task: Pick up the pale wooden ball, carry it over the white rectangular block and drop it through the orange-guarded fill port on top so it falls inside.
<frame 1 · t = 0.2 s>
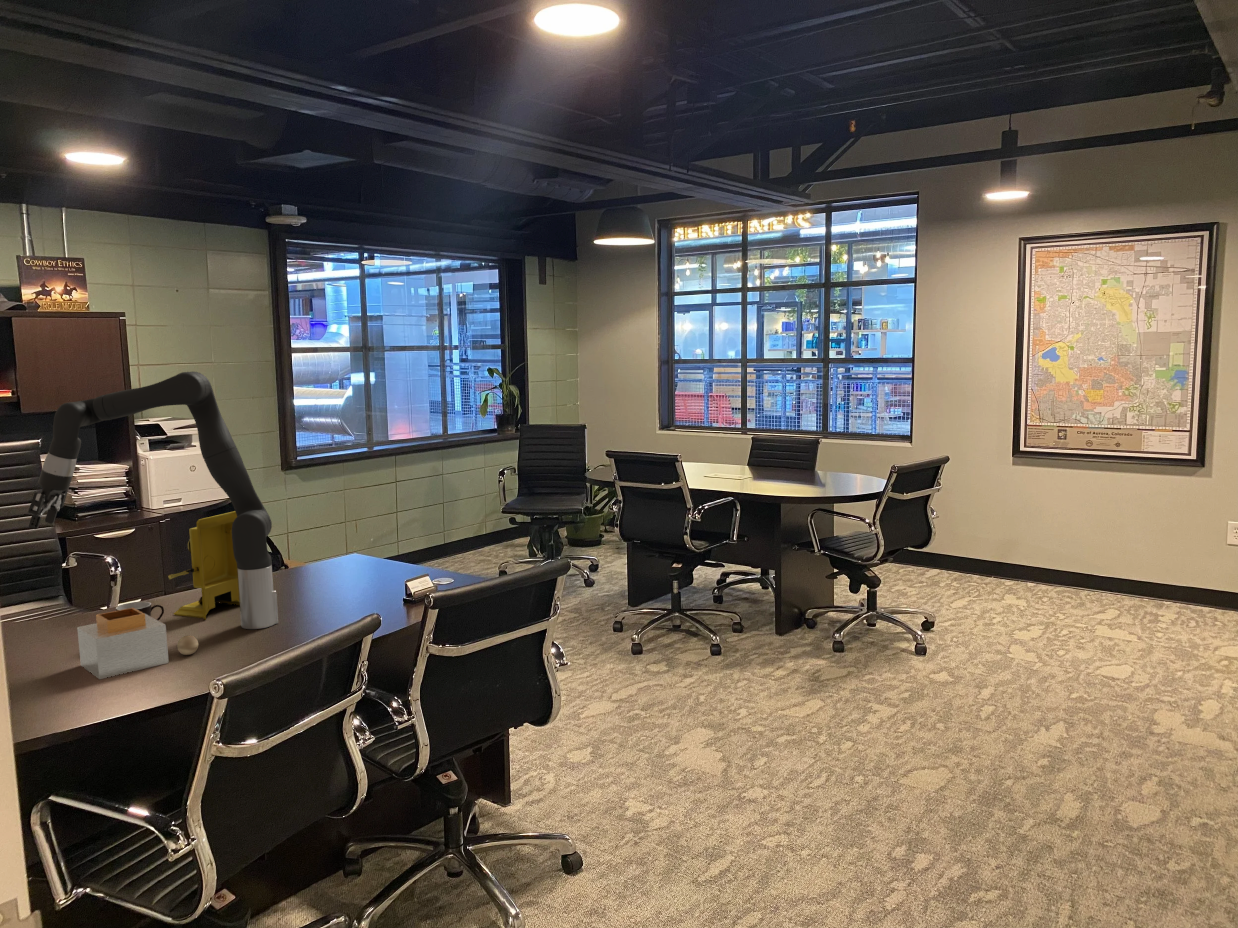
hand: (41, 525, 257), 31 cm above the table, tool tilted 20°, fingers open, 8 cm apart
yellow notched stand: (213, 609, 284), on the table
wooden ball: (188, 654, 241), on the table
coffee mug: (142, 641, 254), on the table
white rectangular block: (124, 664, 234), on the table
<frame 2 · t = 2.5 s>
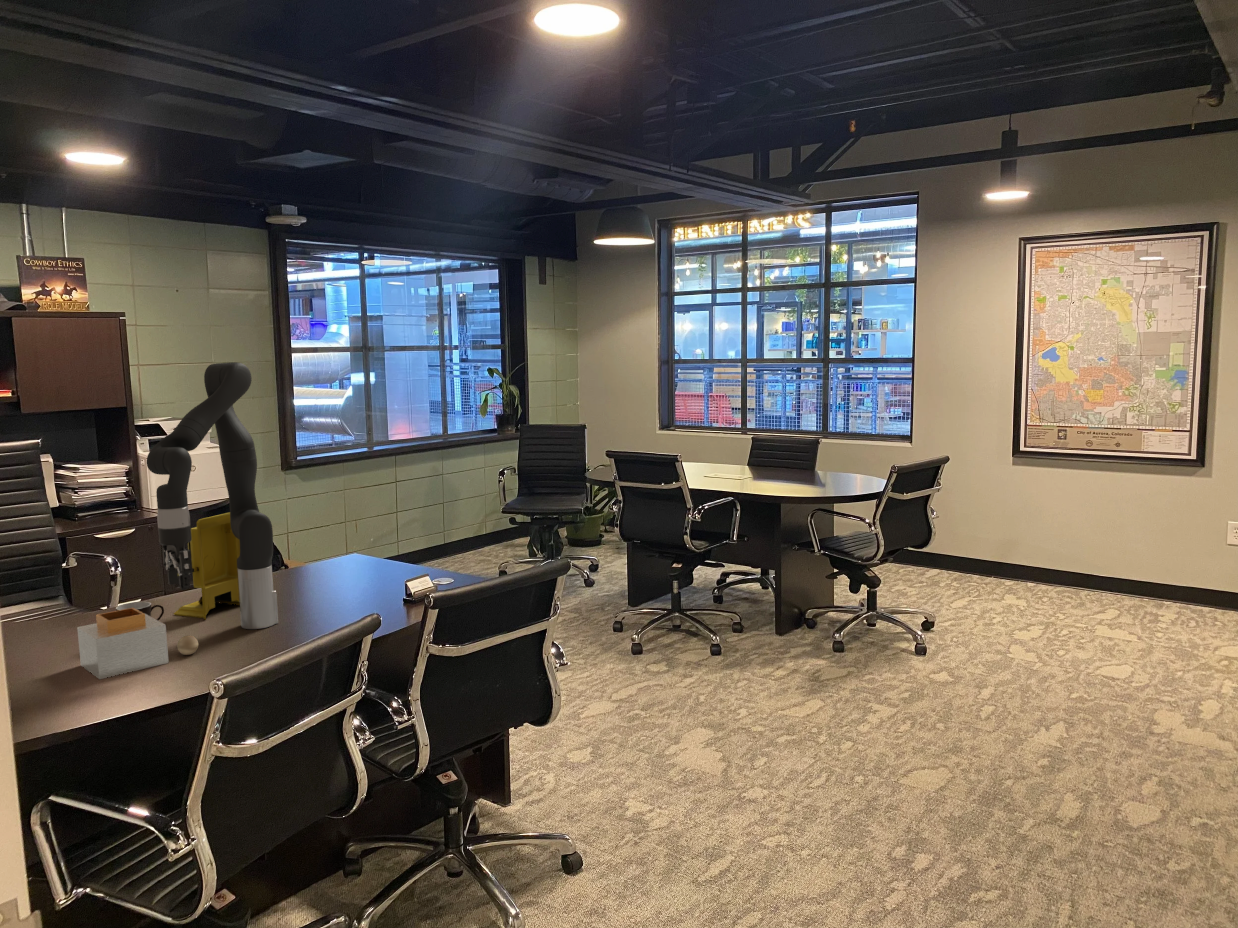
hand: (179, 586, 239), 18 cm above the table, tool pointing down, fingers open, 8 cm apart
nothing on the table moved.
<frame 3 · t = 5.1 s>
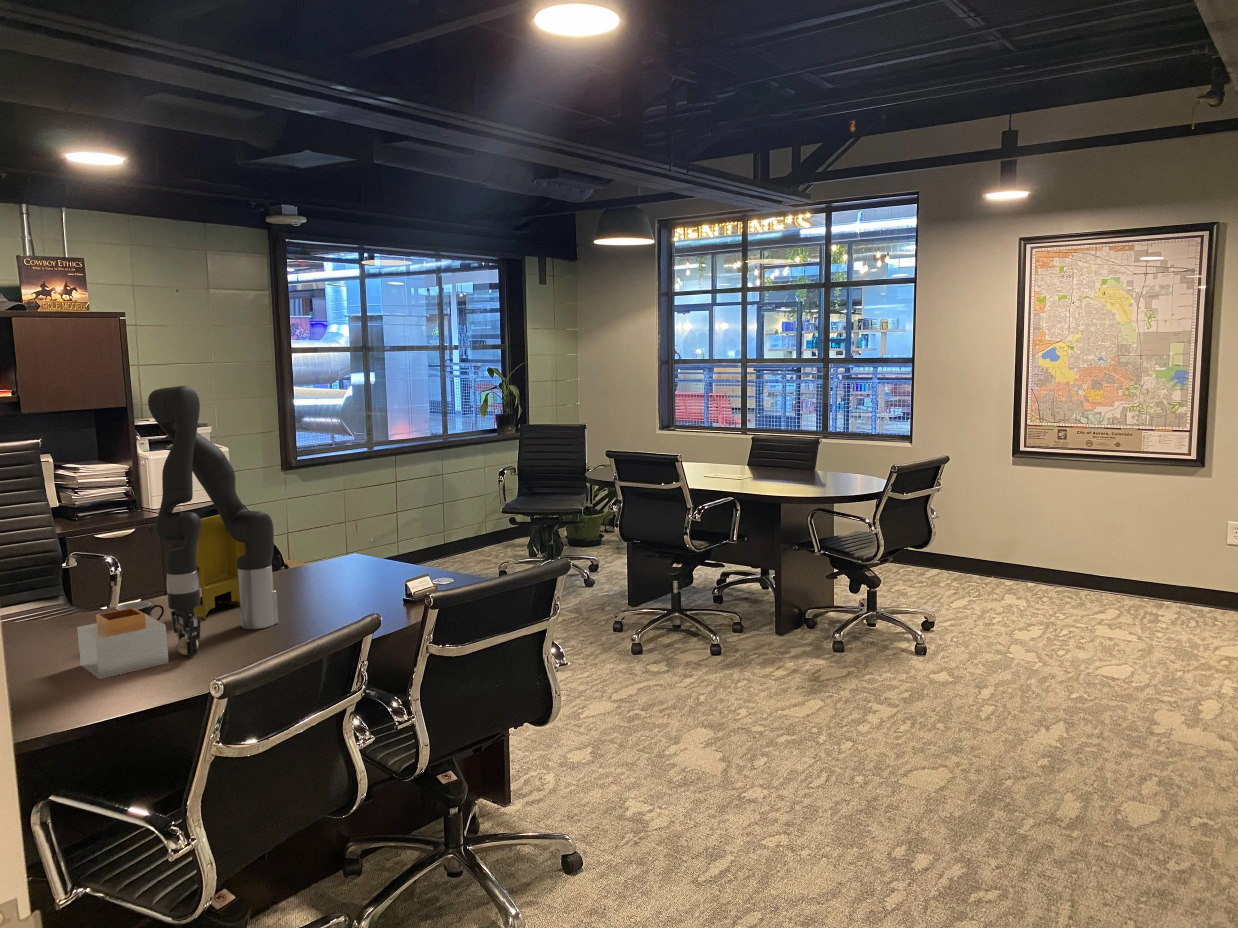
hand: (188, 652, 241), 1 cm above the table, tool pointing down, fingers closed on wooden ball, 5 cm apart
wooden ball: (188, 654, 241), on the table, touching gripper
everything else where it was.
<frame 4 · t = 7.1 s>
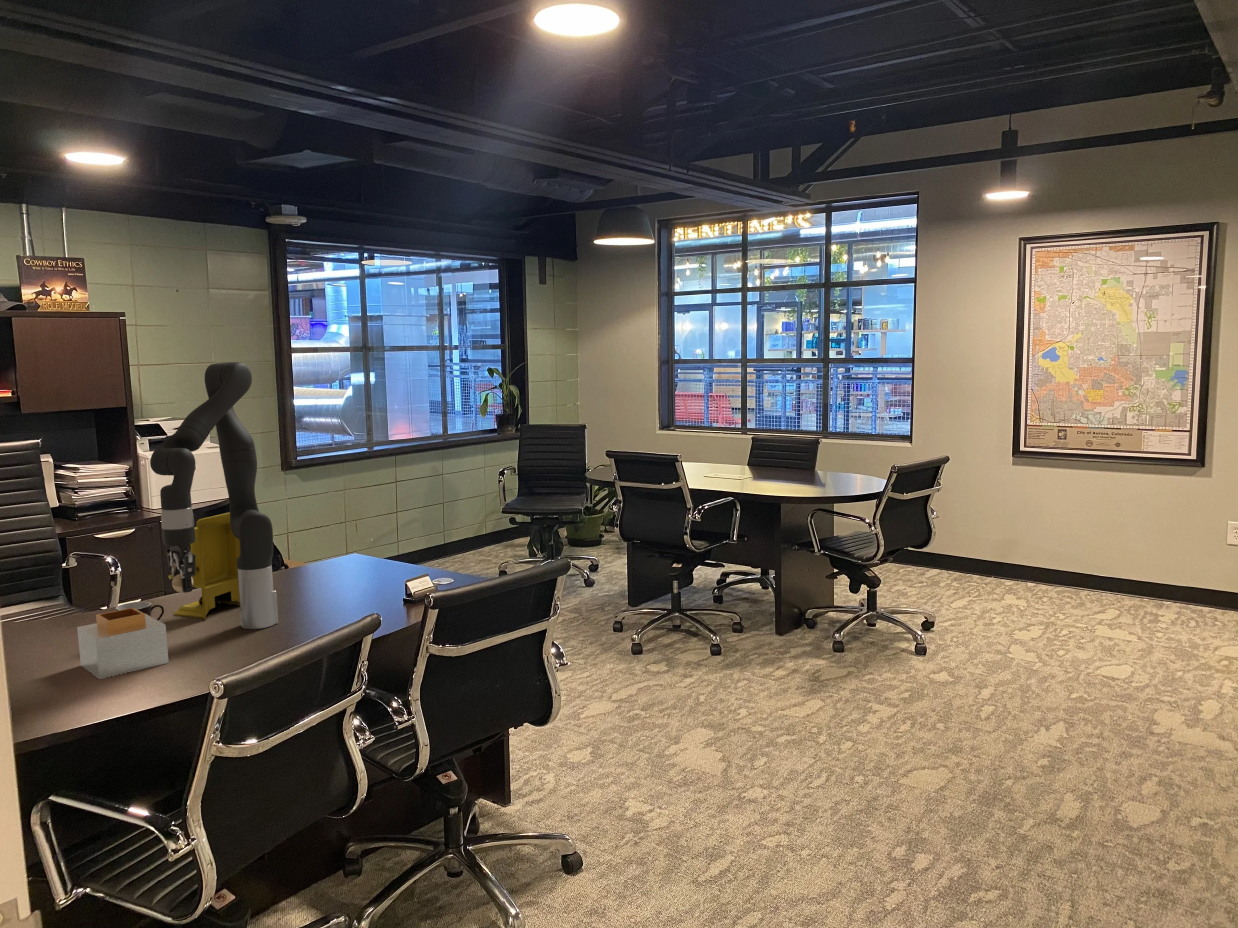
hand: (183, 589, 239), 17 cm above the table, tool pointing down, fingers closed on wooden ball, 5 cm apart
wooden ball: (183, 592, 239), point 17 cm above the table, touching gripper
everything else where it was.
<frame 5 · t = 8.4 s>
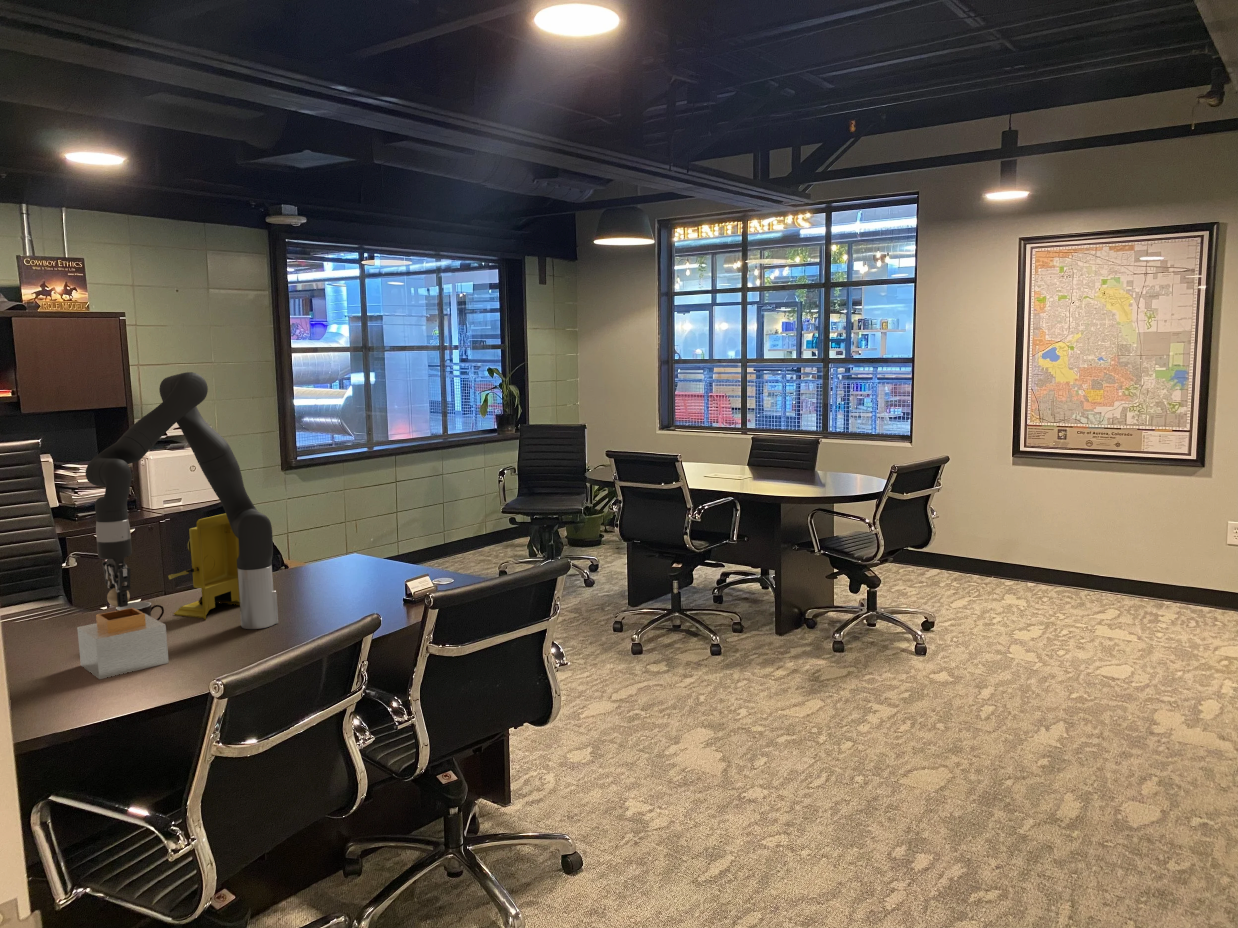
hand: (119, 604, 233), 16 cm above the table, tool pointing down, fingers closed on wooden ball, 5 cm apart
wooden ball: (119, 606, 233), point 15 cm above the table, touching gripper
everything else where it was.
when the fingers open (15 cm above the table, at t = 9.3 s): wooden ball drops 13 cm, resting on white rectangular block.
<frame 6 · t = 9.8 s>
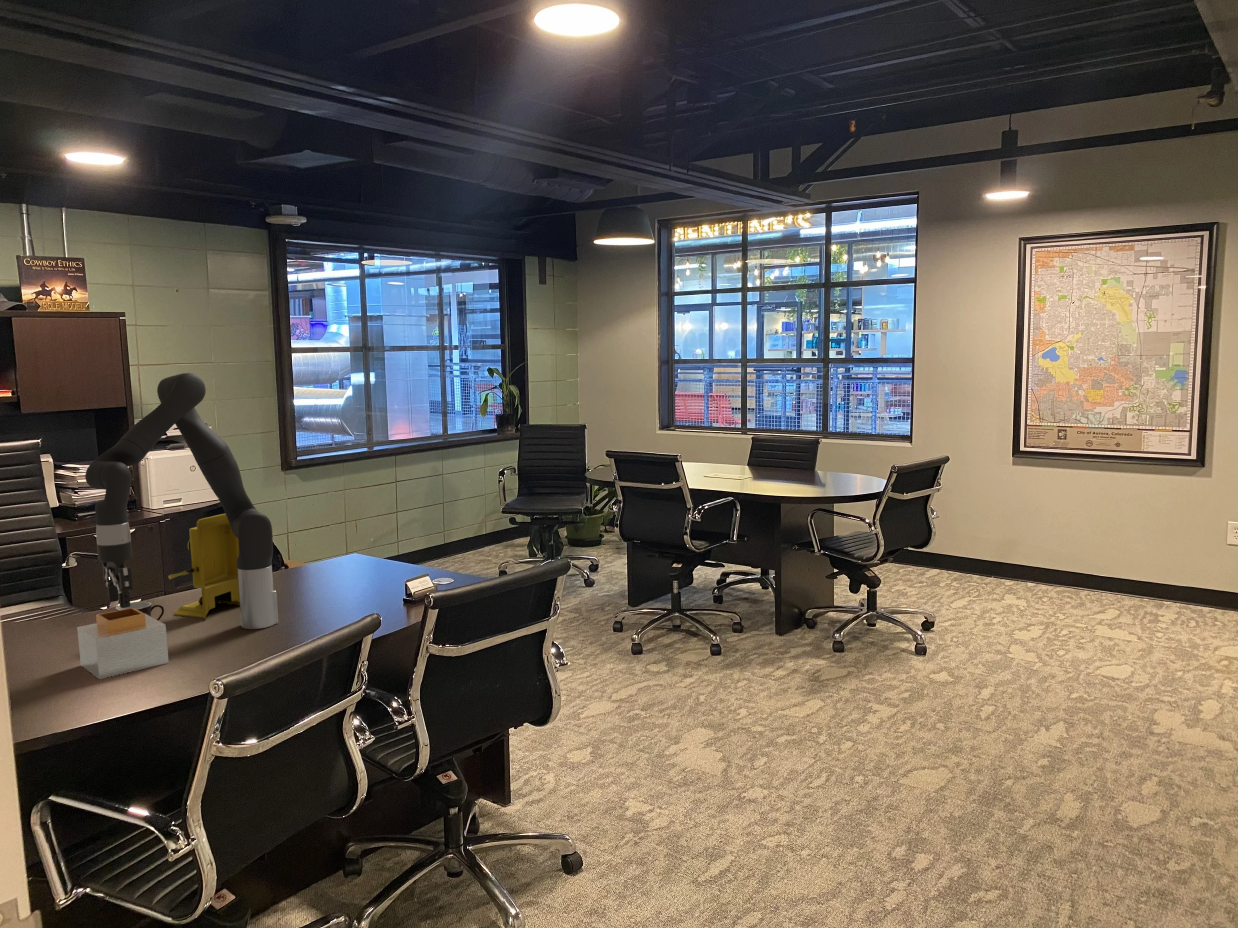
hand: (119, 604, 233), 16 cm above the table, tool pointing down, fingers open, 8 cm apart
wooden ball: (124, 660, 234), point 1 cm above the table, touching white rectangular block
everything else where it was.
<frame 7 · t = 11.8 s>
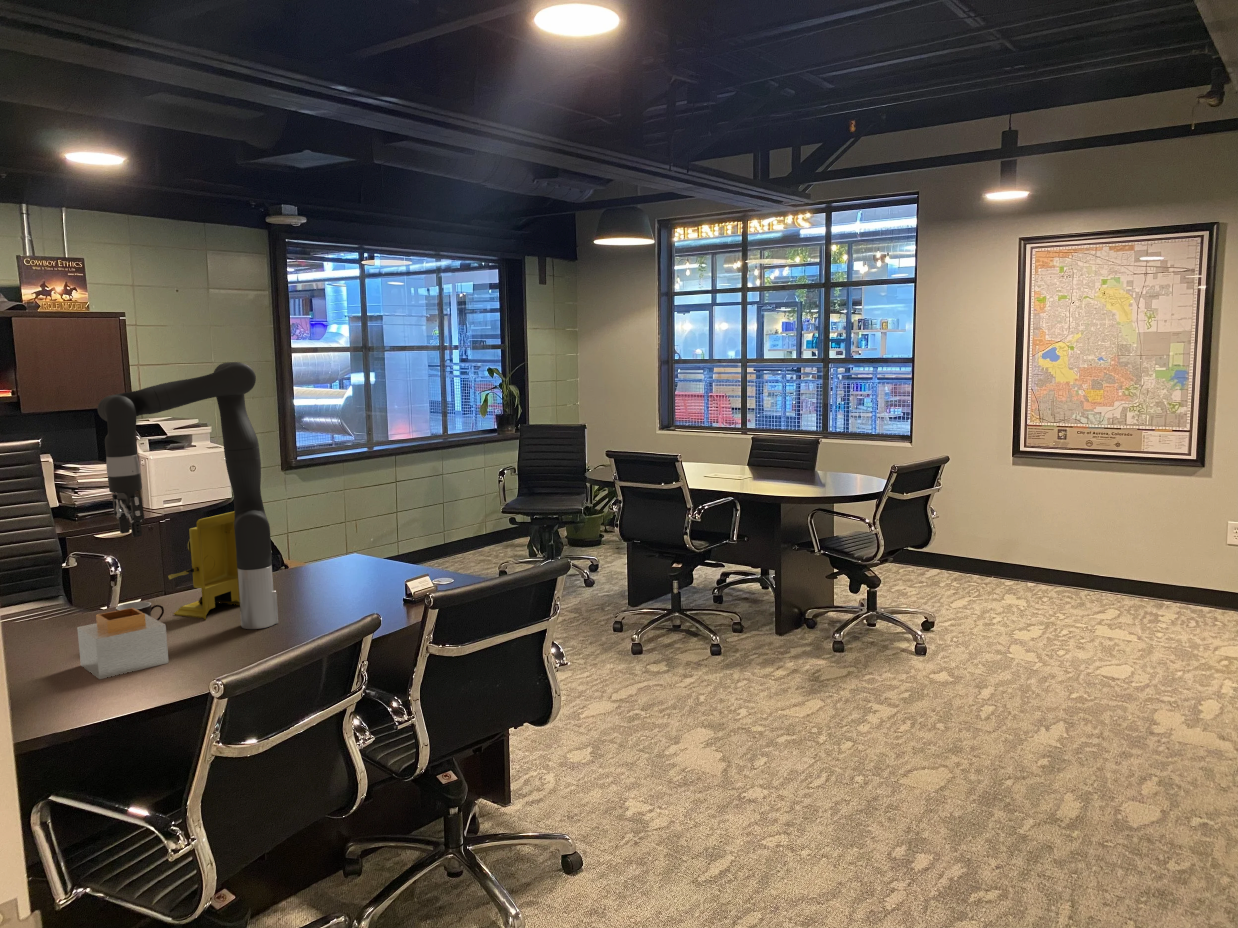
hand: (131, 534, 241), 31 cm above the table, tool pointing down, fingers open, 8 cm apart
nothing on the table moved.
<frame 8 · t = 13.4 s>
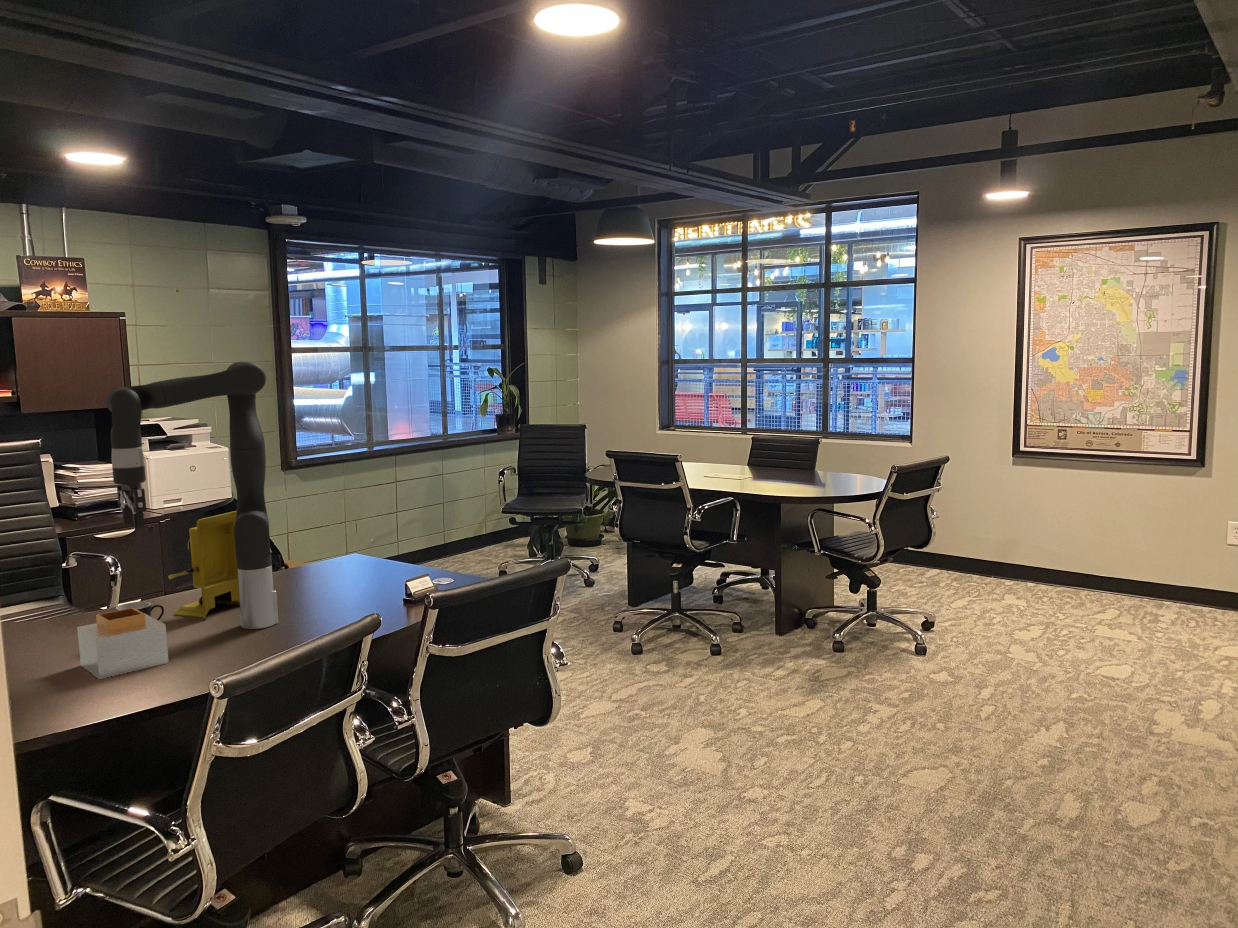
hand: (133, 525, 243), 33 cm above the table, tool pointing down, fingers open, 8 cm apart
nothing on the table moved.
at the end: wooden ball inside the target area on the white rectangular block (0.0 cm from its centre), point 1.0 cm above the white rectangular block's base; the gripper is holding nothing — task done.
